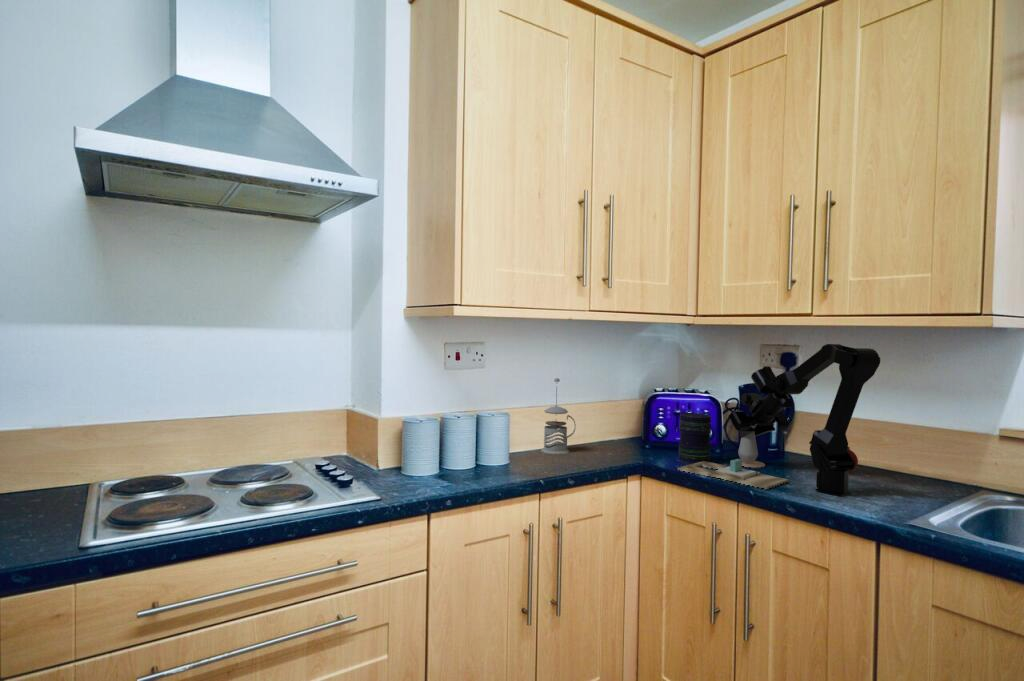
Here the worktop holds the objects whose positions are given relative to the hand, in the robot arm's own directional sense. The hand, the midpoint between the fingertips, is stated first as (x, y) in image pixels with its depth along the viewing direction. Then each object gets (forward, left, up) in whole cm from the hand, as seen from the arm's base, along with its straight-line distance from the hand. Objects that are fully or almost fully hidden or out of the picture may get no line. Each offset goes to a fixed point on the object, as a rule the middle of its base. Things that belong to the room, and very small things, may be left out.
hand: (746, 436), depth 185 cm
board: (-6, +20, -9) cm, 23 cm away
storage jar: (+12, +10, -9) cm, 18 cm away
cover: (-7, +20, -8) cm, 23 cm away
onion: (-25, -14, -9) cm, 30 cm away
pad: (-1, 0, -9) cm, 9 cm away
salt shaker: (-1, +1, -8) cm, 8 cm away
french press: (+49, +35, -9) cm, 61 cm away
